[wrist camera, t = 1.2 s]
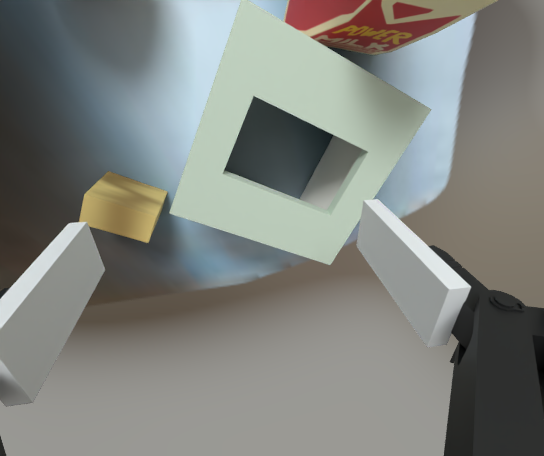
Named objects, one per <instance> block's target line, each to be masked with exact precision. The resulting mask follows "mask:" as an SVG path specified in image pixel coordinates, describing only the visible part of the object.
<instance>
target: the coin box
mask: <svg viewBox="0 0 544 456" xmlns="http://www.w3.org/2000/svg"><path fill="white" fill-rule="evenodd" d="M253 96H255V97H257V98H259V99H261V100H263V101H265V102H267V103H269V104H271V105H273V106H275V107H278V108H280V109H282V110H284V111H286V112H288V113H290V114H292V115H294V116H296V117H298V118H300V119H302V120H304V121H306V122H308V123H310V124H312V125H314V126H316V127H318V128H321V129H323V130H325V131H327V132H329V133H331V134H333V137H332V139H331V141H330V143H329V145H328V147H327V149H326V150H325V152H324V154H323V156H322V158H321V160H320V162H319V163H318V165H317V167H316V169H315V171H314V173H313V175H312V177H311V178H310V180H309V182H308V184H307V186H306V188H305V190H304V191H303V193H302V195H301V197H300V199H297V198H294V197H292V196H289V195H287V194H284V193H282V192H279V191H276V190H274V189H271V188H269V187H266V186H264V185H261V184H259V183H256V182H253V181H251V180H248V179H246V178H243V177H241V176H238V175H235V174H233V173H230V172H228V171H225V170H224V169H225V167H226V164H227V162H228V159H229V157H230V154H231V152H232V149H233V147H234V144H235V141H236V139H237V136H238V134H239V131H240V129H241V126H242V124H243V121H244V119H245V116H246V114H247V111H248V109H249V106H250V104H251V101H252V99H253ZM430 111H431V109H430V108H428V107H426V106H425V105H423V104H421V103H420V102H418V101H416V100H415V99H413V98H411V97H410V96H408V95H406V94H405V93H403V92H401V91H400V90H398V89H396V88H395V87H393V86H391V85H389V84H388V83H386V82H384V81H383V80H381V79H379V78H378V77H376V76H374V75H373V74H371V73H369V72H368V71H366V70H364V69H363V68H361V67H359V66H358V65H356V64H354V63H352V62H351V61H349V60H347V59H346V58H344V57H342V56H341V55H339V54H337V53H336V52H334V51H332V50H331V49H329V48H327V47H326V46H324V45H322V44H321V43H319V42H317V41H315V40H314V39H312V38H310V37H309V36H307V35H305V34H304V33H302V32H300V31H299V30H297V29H295V28H294V27H292V26H290V25H289V24H287V23H285V22H284V21H282V20H280V19H278V18H277V17H275V16H273V15H272V14H270V13H268V12H267V11H265V10H263V9H262V8H260V7H258V6H257V5H255V4H253V3H252V2H250V1H248V0H241V2H240V5H239V8H238V11H237V14H236V17H235V20H234V23H233V26H232V29H231V32H230V35H229V38H228V41H227V44H226V47H225V50H224V53H223V56H222V59H221V62H220V65H219V68H218V71H217V73H216V76H215V79H214V82H213V85H212V88H211V91H210V94H209V97H208V100H207V103H206V106H205V109H204V112H203V115H202V118H201V121H200V124H199V127H198V130H197V133H196V136H195V139H194V142H193V144H192V147H191V150H190V153H189V156H188V159H187V162H186V165H185V168H184V171H183V174H182V177H181V180H180V183H179V186H178V189H177V192H176V195H175V198H174V201H173V204H172V207H171V210H170V214H173V215H176V216H179V217H182V218H185V219H188V220H191V221H194V222H198V223H201V224H204V225H207V226H210V227H213V228H216V229H219V230H222V231H226V232H229V233H232V234H235V235H238V236H241V237H244V238H247V239H250V240H253V241H257V242H260V243H263V244H266V245H269V246H272V247H275V248H278V249H281V250H285V251H288V252H291V253H294V254H297V255H300V256H303V257H306V258H309V259H312V260H316V261H319V262H322V263H325V264H328V265H331V262H332V261H333V260H334V258H335V257H336V255H337V254H338V252H339V251H340V249H341V248H342V246H343V245H344V243H345V242H346V240H347V238H348V237H349V235H350V234H351V232H352V231H353V229H354V228H355V226H356V225H357V223H358V222H359V220H360V218H361V213H362V207H363V200H373V199H374V197H375V195H376V194H377V192H378V191H379V189H380V188H381V186H382V185H383V183H384V182H385V180H386V179H387V177H388V175H389V174H390V172H391V171H392V169H393V168H394V166H395V165H396V163H397V162H398V160H399V159H400V157H401V155H402V154H403V152H404V151H405V149H406V148H407V146H408V145H409V143H410V142H411V140H412V139H413V137H414V136H415V134H416V132H417V131H418V129H419V128H420V126H421V125H422V123H423V122H424V120H425V119H426V117H427V116H428V114H429V112H430Z"/></svg>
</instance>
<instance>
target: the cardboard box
mask: <svg viewBox="0 0 544 456" xmlns="http://www.w3.org/2000/svg"><path fill="white" fill-rule="evenodd" d="M166 195H167V191H164V190H161V189H159V188H156V187H153V186H150V185H147V184H144V183H141V182H138V181H135V180H132V179H129V178H127V177H124V176H121V175H118V174H115V173H112V172H109V171H108V172H107V173H106V174H105V175H104V176H103V177H102V178H101V179H100V180H99V181H98V182H97V183H96V184H94V185H93V186H92V187H91V188H90V189H89V190H88V191H87V192H86V193H85V194H84V199H83V204H82V209H81V214H80V219H79V222H87V223H88V226H90V227H94V228H97V229H101V230H104V231H108V232H111V233H115V234H118V235H122V236H125V237H129V238H132V239H136V240H139V241H143V242H147V243H148V242H149V240H150V238H151V235H152V233H153V230H154V228H155V226H156V223H157V221H158V219H159V216H160V214H161V210H162V207H163V204H164V201H165V198H166Z"/></svg>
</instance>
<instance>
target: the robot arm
mask: <svg viewBox="0 0 544 456" xmlns="http://www.w3.org/2000/svg"><path fill="white" fill-rule="evenodd" d="M356 246H357V247H358V249H359V250H360V252H361V253H362V254H363V256H364V257H365V259H366V260H367V262H368V263H369V265H370V266H371V267H372V269H373V270H374V272H375V273H376V275H377V276H378V278H379V279H380V280H381V282H382V283H383V285H384V286H385V287H386V289H387V290H388V292H389V293H390V295H391V296H392V297H393V299H394V301H395V302H396V303H397V305H398V306H399V308H400V309H401V311H402V312H403V314H404V315H405V316H406V318H407V319H408V321H409V322H410V323H411V325H412V326H413V328H414V329H415V331H416V332H417V334H418V335H419V336H420V338H421V339H422V341H423V342H424V344H425V345H426V347H434V346H441V345H447V343H448V341H449V338H450V336H451V334H453V335H454V336H455V337H456V339H457V340H458V341H459V343H458V345H457V347H456V349H455V352H454V354H453V356H452V358H451V360H450V362H451V363H454V370H453V379H452V389H451V396H450V406H449V415H448V423H447V432H446V440H445V450H444V456H544V308H537V307H528V306H525V305H524V304H523V303H522V302H521V301H520V300H518V299H517V298H515V297H513V296H512V295H509V294H507V293H504V292H501V291H496V290H488V289H487V288H486V287H485V286H484V285H483V284H481V283H480V282H479V281H478V280H477V279H476V278H475V277H474V276H472V275H471V274H470V273H469V272H468V271H467V270H466V269H464V268H462V266H461V265H460V264H459V263H458V262H456V261H455V260H454V259H453V258H452V257H451V256H450V255H449V254H448V253H446V252H445V251H443V250H441V249H439V248H437V247H435V246H427V245H426V244H425V243H424V242H423V241H422V240H421V239H420V238H418V236H416V235H415V234H414V233H413V232H412V231H411V230H410V229H409V228H408V227H407V226H406V225H405V224H404V223H403V222H402V221H401V220H399V219H398V218H397V217H396V216H395V215H394V214H393V213H392V212H391V211H390V210H389V209H388V208H387V207H386V206H385V205H383V204H382V203H381V202H380V201H379V200H378V199H375V200H363V207H362V213H361V219H360V226H359V232H358V239H357V245H356ZM104 271H105V268H104V265H103V263H102V260H101V257H100V255H99V252H98V249H97V247H96V244H95V242H94V239H93V236H92V234H91V231H90V228H89V226H88V223H87V222H77V223H69V224H68V225H67V226H66V227H65V228H64V229H63V230H62V231H61V232H60V234H59V235H58V236H57V237H56V238H55V239H54V240H53V241H52V242H51V243H50V245H49V246H48V247H47V248H46V249H45V250H44V251H43V252H42V253H41V255H40V256H39V257H38V258H37V259H36V260H35V261H34V262H33V263H32V264H31V266H30V267H29V268H28V269H27V270H26V271H25V272H24V273H23V274H22V275H21V277H20V278H19V279H18V280H17V281H16V282H15V283H14V284H13V285H12V287H11V288H5V289H3V290H2V291H0V400H1V401H2V402H3V404H4V405H5V406H13V405H21V404H28V403H33V402H34V400H35V398H36V396H37V394H38V393H39V391H40V389H41V387H42V385H43V383H44V381H45V380H46V378H47V376H48V374H49V372H50V370H51V369H52V367H53V365H54V363H55V361H56V359H57V358H58V356H59V354H60V352H61V350H62V348H63V347H64V345H65V343H66V341H67V339H68V337H69V335H70V334H71V332H72V330H73V328H74V326H75V324H76V323H77V321H78V319H79V317H80V315H81V313H82V312H83V310H84V308H85V306H86V304H87V302H88V301H89V299H90V297H91V295H92V293H93V291H94V290H95V288H96V286H97V284H98V282H99V280H100V278H101V277H102V275H103V273H104ZM0 456H6V453H5V450H4V447H3V443H2V440H1V437H0Z"/></svg>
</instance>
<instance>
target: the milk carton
mask: <svg viewBox="0 0 544 456" xmlns="http://www.w3.org/2000/svg"><path fill="white" fill-rule="evenodd" d="M496 1H498V0H288V2H287V7H286V11H285V16H284V22H285V23H287V24H289V25H290V26H292V27H294V28H295V29H297V30H299V31H300V32H302V33H304V34H305V35H307V36H309V37H310V38H312V39H314V40H315V41H317V42H319V43H321V44H322V45H324V46H328V47H333V48H338V49H344V50H349V51H354V52H359V53H365V54H370V55H378V54H383V53H388V52H392V51H395V50H397V49H399V48H402V47H404V46H406V45H409V44H411V43H414V42H416V41H418V40H421V39H423V38H426V37H428V36H430V35H433V34H435V33H437V32H439V31H441V30H443V29H445V28H447V27H448V26H450V25H452V24H454V23H456V22H458V21H460V20H462V19H464V18H466V17H467V16H469V15H471V14H473V13H475V12H477V11H479V10H481V9H483V8H485V7H486V6H488V5H490V4H492V3H494V2H496Z"/></svg>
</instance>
